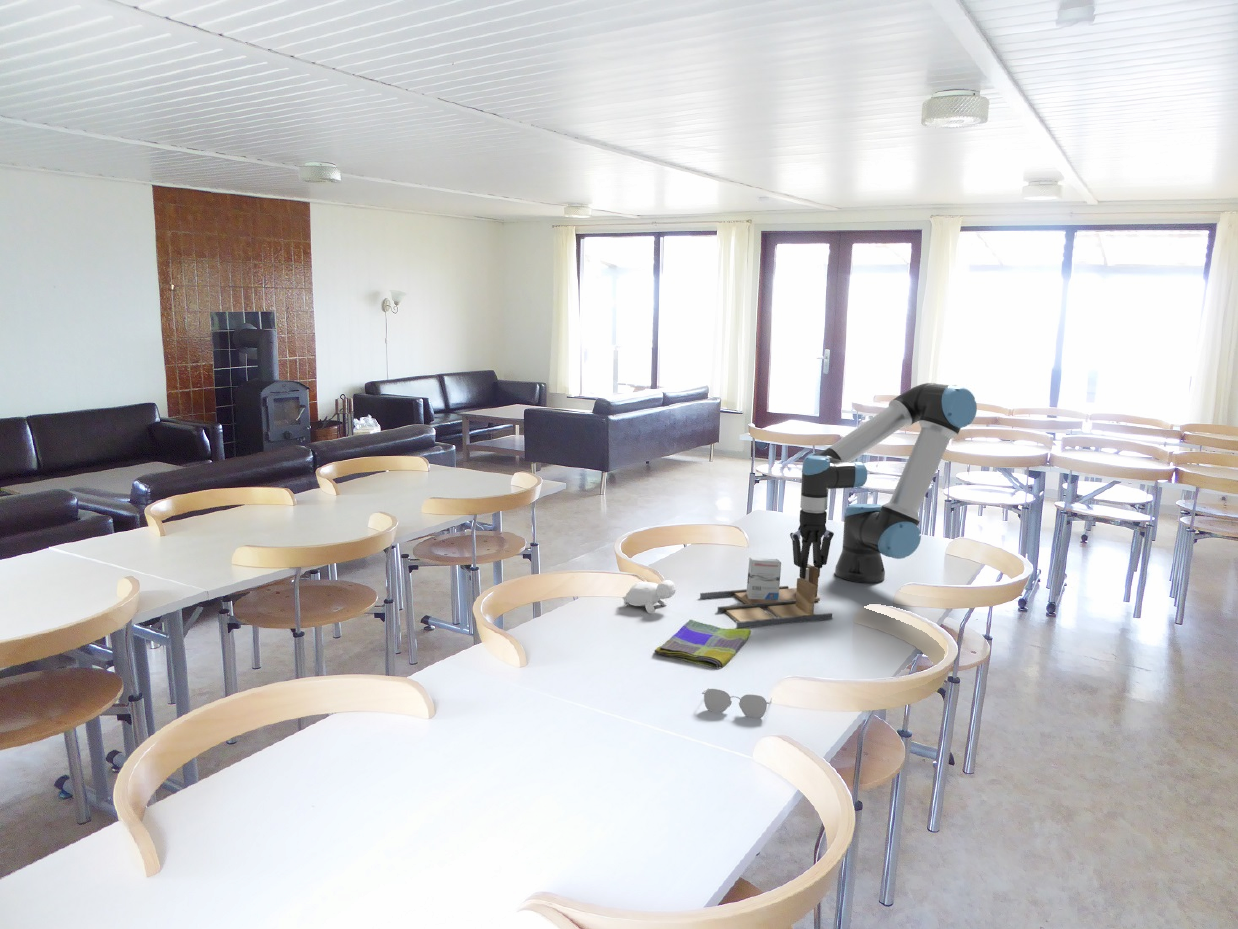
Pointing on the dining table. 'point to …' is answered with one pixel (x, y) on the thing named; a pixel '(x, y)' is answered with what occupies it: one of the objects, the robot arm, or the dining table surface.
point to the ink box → (763, 578)
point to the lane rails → (763, 606)
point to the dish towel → (704, 644)
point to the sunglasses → (748, 703)
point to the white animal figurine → (650, 594)
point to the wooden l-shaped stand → (782, 606)
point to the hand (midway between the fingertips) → (808, 588)
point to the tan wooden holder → (785, 590)
